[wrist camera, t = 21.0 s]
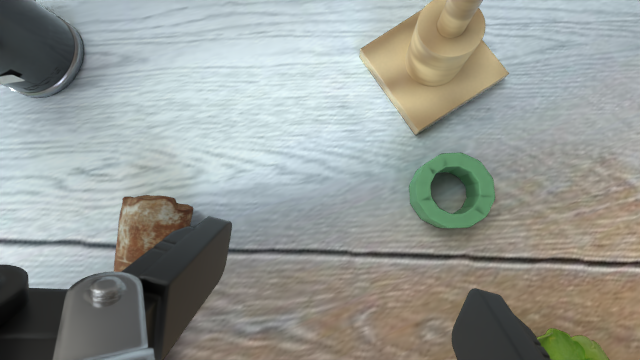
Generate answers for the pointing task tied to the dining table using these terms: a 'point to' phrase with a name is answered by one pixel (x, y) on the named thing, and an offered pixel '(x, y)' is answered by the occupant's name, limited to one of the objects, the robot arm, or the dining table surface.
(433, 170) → the ring
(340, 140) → the dining table surface
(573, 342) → the potted flower
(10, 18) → the robot arm
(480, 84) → the peg stand
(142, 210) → the brown piece
